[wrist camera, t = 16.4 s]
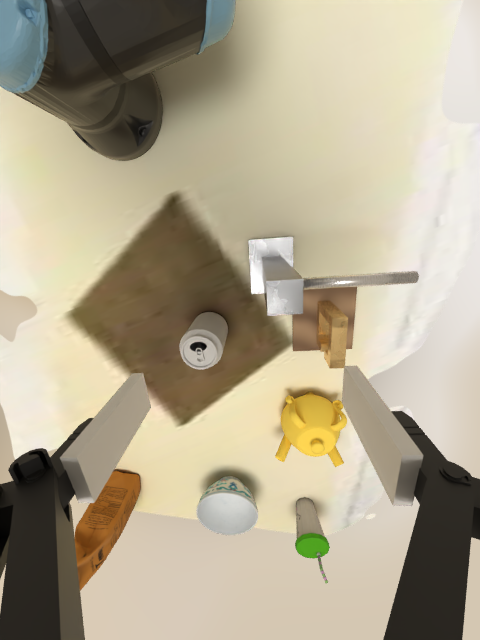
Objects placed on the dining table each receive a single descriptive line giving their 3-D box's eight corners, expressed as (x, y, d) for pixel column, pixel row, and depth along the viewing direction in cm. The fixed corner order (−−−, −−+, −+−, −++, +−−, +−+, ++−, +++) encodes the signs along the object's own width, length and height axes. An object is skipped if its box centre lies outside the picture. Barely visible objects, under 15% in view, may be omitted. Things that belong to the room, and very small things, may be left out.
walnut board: (292, 285, 49) (292, 285, 48) (356, 281, 48) (357, 281, 47) (292, 349, 53) (293, 351, 53) (350, 347, 52) (351, 348, 52)
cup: (289, 493, 68) (298, 562, 54) (319, 493, 67) (336, 563, 53) (290, 513, 71) (299, 583, 56) (318, 513, 70) (335, 584, 56)
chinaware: (260, 503, 70) (260, 535, 63) (207, 504, 71) (202, 535, 64) (254, 463, 65) (254, 492, 58) (198, 465, 66) (191, 494, 59)
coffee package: (104, 494, 73) (44, 600, 52) (109, 464, 68) (45, 566, 48) (138, 503, 73) (92, 611, 52) (144, 473, 69) (97, 578, 48)
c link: (317, 301, 49) (332, 318, 40) (330, 300, 49) (348, 317, 39) (316, 343, 52) (329, 368, 43) (328, 342, 52) (344, 367, 42)
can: (225, 308, 51) (216, 330, 40) (231, 341, 54) (224, 371, 42) (189, 313, 52) (171, 336, 41) (197, 345, 54) (182, 375, 43)
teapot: (272, 432, 61) (276, 473, 51) (279, 384, 57) (284, 419, 46) (331, 437, 61) (347, 480, 50) (343, 390, 56) (363, 427, 46)
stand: (248, 239, 46) (241, 249, 24) (359, 231, 45) (463, 232, 22) (251, 292, 50) (248, 344, 27) (354, 286, 48) (442, 336, 26)
